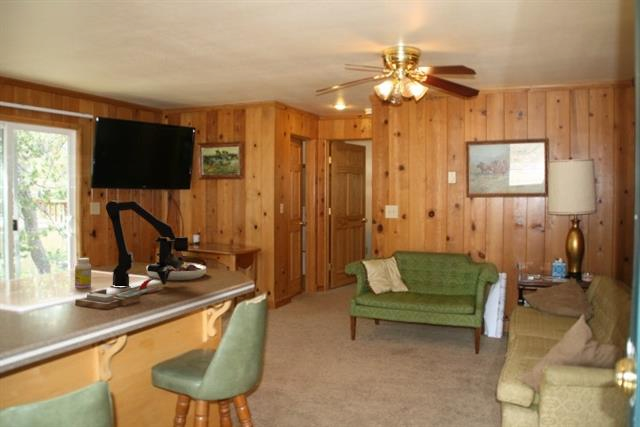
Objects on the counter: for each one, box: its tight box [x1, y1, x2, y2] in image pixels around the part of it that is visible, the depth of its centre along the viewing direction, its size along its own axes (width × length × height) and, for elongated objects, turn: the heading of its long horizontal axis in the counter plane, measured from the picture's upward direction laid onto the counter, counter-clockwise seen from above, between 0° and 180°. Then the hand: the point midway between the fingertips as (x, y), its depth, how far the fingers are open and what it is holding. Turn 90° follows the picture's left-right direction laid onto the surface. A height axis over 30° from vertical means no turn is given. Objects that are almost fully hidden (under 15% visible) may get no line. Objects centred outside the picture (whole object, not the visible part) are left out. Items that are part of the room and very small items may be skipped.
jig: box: [74, 288, 141, 310], centre depth 205 cm, size 18×17×3 cm
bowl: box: [146, 261, 207, 281], centre depth 270 cm, size 30×30×8 cm
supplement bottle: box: [74, 257, 92, 289], centre depth 232 cm, size 7×7×13 cm
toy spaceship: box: [114, 278, 164, 298], centre depth 222 cm, size 27×11×5 cm, turn 170°
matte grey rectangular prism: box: [86, 293, 114, 303], centre depth 201 cm, size 4×9×4 cm, turn 70°
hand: (164, 284), depth 241 cm, fingers closed
